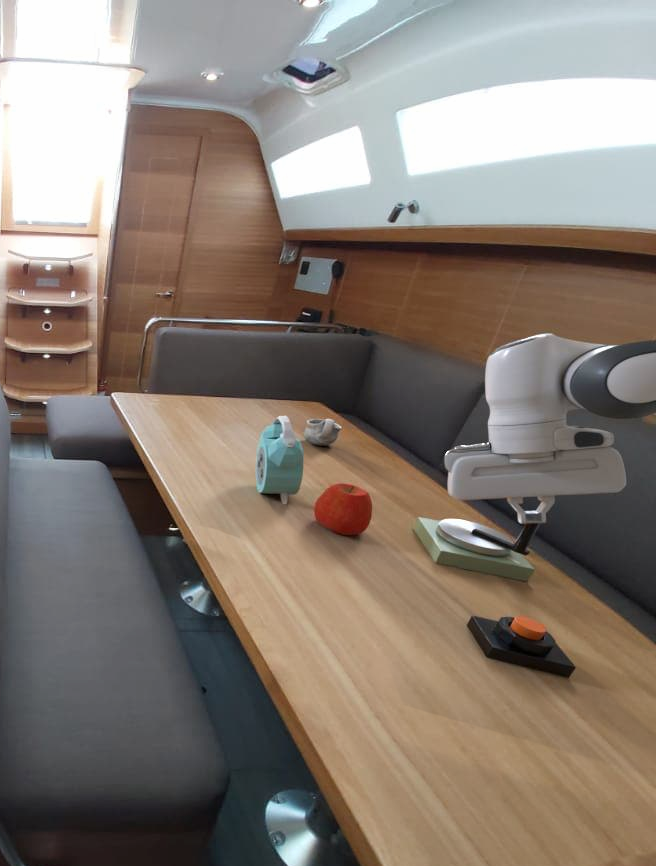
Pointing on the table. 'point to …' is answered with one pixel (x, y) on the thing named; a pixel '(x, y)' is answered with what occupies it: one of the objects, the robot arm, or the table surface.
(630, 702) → the table surface
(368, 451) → the table surface
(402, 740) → the table surface
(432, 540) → the dial plate
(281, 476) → the alarm clock
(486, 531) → the wheel
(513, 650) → the button box
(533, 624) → the button
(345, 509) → the apple
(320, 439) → the grey spouted pot
